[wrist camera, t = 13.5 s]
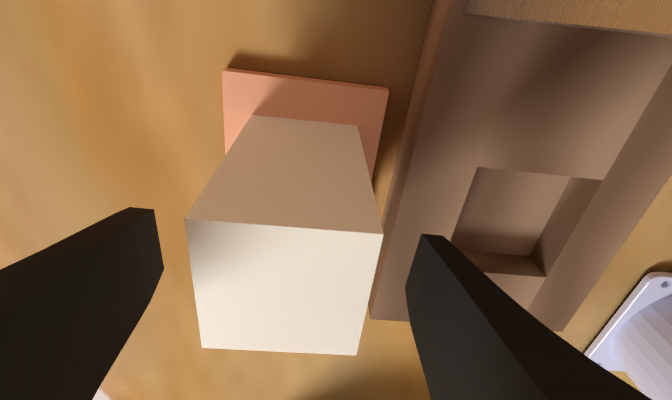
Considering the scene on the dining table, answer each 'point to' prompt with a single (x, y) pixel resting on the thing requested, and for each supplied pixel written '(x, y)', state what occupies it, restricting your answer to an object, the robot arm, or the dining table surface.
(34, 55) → the dining table surface
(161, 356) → the dining table surface
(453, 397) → the robot arm
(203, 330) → the cream block
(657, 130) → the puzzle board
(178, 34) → the dining table surface
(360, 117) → the terracotta tile
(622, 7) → the sliding cover
